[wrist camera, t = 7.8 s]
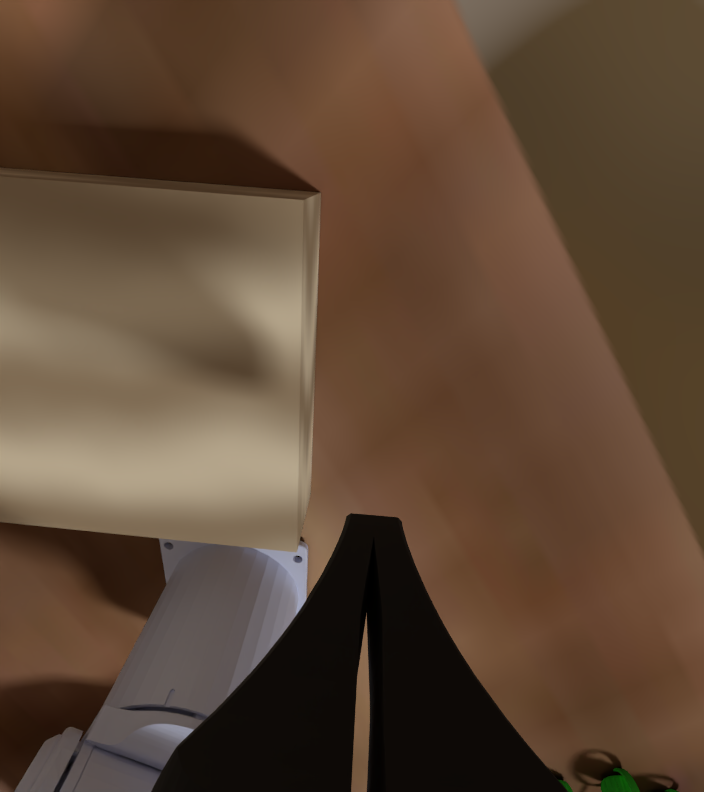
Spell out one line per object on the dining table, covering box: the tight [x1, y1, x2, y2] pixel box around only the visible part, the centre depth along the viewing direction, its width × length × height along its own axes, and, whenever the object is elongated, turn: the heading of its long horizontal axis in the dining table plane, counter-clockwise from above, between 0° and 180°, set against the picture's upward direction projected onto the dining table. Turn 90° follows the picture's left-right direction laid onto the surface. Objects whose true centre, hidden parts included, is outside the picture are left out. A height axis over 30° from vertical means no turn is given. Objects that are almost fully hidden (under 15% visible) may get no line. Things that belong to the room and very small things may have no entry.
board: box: [0, 168, 321, 552], centre depth 19 cm, size 14×14×4 cm
